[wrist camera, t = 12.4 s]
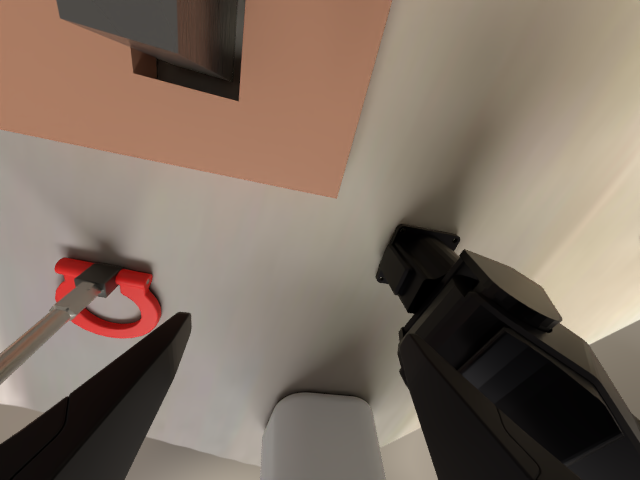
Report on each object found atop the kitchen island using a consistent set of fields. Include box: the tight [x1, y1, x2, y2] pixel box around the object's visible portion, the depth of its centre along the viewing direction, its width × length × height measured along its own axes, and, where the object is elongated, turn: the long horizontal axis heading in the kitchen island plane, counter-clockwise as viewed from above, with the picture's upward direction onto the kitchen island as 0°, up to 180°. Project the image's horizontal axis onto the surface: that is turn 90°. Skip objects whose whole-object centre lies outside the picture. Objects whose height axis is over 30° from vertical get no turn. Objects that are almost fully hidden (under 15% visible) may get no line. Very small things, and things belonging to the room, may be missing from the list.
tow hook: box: [0, 258, 161, 385], centre depth 17 cm, size 8×13×9 cm
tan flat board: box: [0, 0, 392, 199], centre depth 12 cm, size 20×16×2 cm
